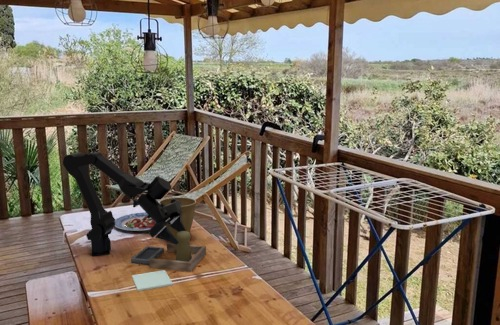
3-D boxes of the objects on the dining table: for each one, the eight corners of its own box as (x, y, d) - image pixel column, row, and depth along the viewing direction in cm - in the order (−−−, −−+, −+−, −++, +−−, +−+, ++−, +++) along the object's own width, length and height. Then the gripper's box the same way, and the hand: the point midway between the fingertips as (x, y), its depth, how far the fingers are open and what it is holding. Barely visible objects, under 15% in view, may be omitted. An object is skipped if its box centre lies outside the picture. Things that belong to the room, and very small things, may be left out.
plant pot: (201, 242, 180) (201, 203, 178) (165, 247, 174) (164, 208, 171) (189, 230, 194) (189, 195, 191) (156, 235, 187) (154, 199, 184)
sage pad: (137, 291, 138) (137, 289, 138) (132, 277, 148) (131, 275, 148) (172, 285, 142) (172, 283, 142) (164, 271, 152) (164, 270, 152)
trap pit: (131, 263, 159) (130, 259, 159) (147, 250, 171) (147, 246, 171) (149, 265, 157) (149, 260, 157) (164, 251, 170) (164, 247, 170)
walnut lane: (149, 267, 156) (149, 259, 155) (168, 250, 171) (168, 242, 171) (190, 271, 152) (190, 263, 152) (206, 253, 168) (205, 246, 168)
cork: (189, 264, 158) (188, 235, 156) (172, 263, 159) (172, 234, 157) (194, 258, 164) (194, 229, 162) (178, 257, 165) (178, 228, 163)
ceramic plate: (160, 213, 219) (160, 207, 218) (180, 228, 197) (180, 222, 197) (106, 222, 206) (106, 215, 205) (123, 238, 184) (122, 232, 183)
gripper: (155, 200, 149) (187, 233, 149) (176, 187, 167) (205, 217, 167) (135, 220, 152) (166, 254, 152) (158, 206, 170) (186, 235, 170)
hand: (182, 239), depth 160 cm, fingers open, 9 cm apart
